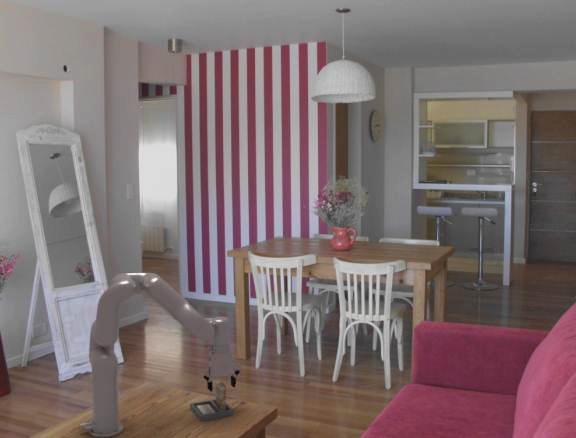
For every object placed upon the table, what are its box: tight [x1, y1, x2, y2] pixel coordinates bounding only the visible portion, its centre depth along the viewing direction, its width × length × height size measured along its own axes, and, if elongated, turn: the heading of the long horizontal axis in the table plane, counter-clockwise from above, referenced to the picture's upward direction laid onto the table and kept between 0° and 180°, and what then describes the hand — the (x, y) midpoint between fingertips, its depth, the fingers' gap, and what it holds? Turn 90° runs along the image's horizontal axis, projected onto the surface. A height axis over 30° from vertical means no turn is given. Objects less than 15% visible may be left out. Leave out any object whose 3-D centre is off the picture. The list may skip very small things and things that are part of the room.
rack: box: [189, 398, 234, 423], centre depth 266 cm, size 14×14×3 cm
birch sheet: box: [215, 380, 227, 411], centre depth 267 cm, size 2×7×12 cm, turn 25°
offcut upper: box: [197, 404, 215, 415], centre depth 265 cm, size 5×10×2 cm, turn 24°
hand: (221, 388), depth 267 cm, fingers open, 9 cm apart
